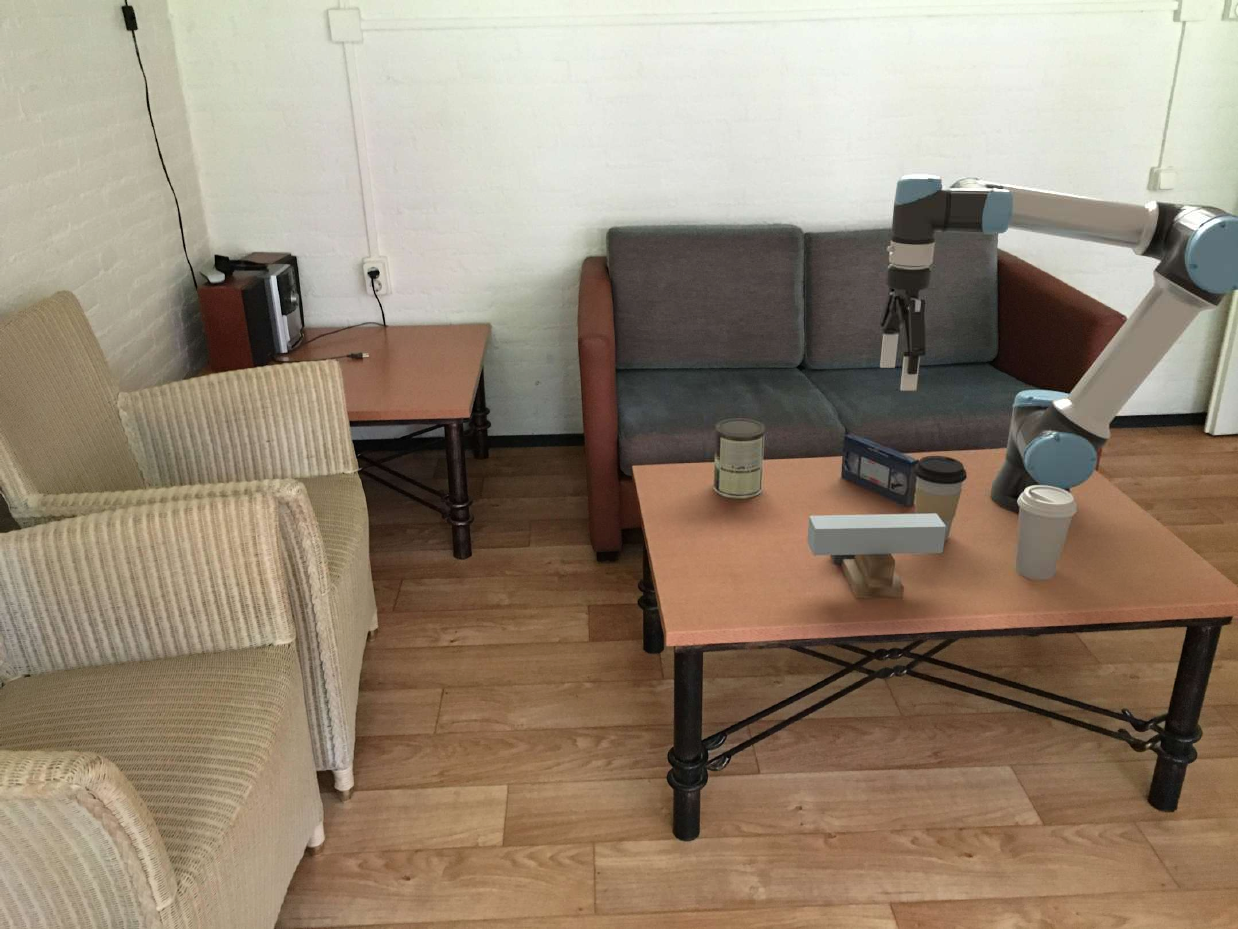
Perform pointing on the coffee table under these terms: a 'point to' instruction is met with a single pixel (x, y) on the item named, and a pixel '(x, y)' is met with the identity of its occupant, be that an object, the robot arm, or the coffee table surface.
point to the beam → (876, 534)
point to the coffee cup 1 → (939, 487)
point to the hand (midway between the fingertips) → (897, 378)
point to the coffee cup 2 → (1042, 529)
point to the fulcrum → (873, 576)
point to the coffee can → (738, 458)
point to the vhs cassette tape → (879, 469)
